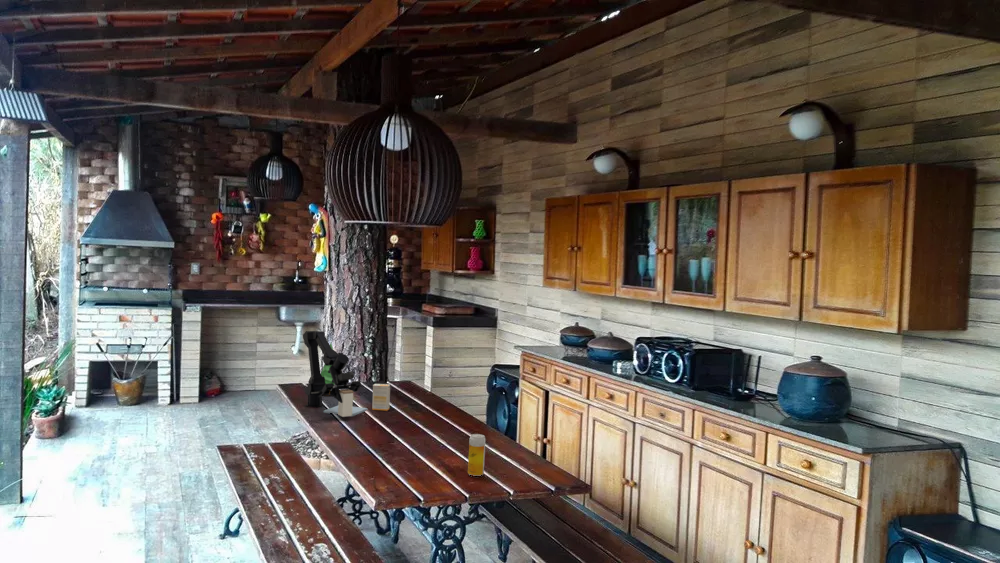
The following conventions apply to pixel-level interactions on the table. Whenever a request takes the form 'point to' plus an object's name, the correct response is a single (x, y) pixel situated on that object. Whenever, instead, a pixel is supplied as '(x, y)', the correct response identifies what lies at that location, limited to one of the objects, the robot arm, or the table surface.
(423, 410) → the table surface
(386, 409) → the supplement box
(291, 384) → the table surface
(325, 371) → the decorative tree
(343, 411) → the tan block
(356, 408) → the slate mat
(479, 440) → the beer glass
